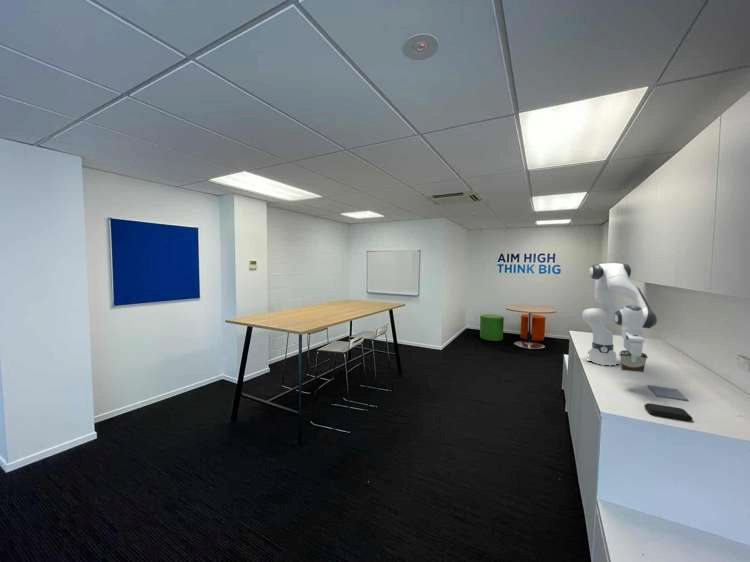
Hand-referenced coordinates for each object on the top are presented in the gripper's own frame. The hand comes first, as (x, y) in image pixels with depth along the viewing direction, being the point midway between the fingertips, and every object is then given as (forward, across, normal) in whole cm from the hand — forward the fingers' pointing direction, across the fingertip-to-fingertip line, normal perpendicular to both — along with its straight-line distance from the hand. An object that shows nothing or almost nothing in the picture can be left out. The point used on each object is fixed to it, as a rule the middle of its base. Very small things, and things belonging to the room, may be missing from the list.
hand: (631, 359), depth 164 cm
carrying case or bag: (+16, +29, +7) cm, 34 cm away
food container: (+6, -1, 0) cm, 6 cm away
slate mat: (+16, 0, +15) cm, 22 cm away
